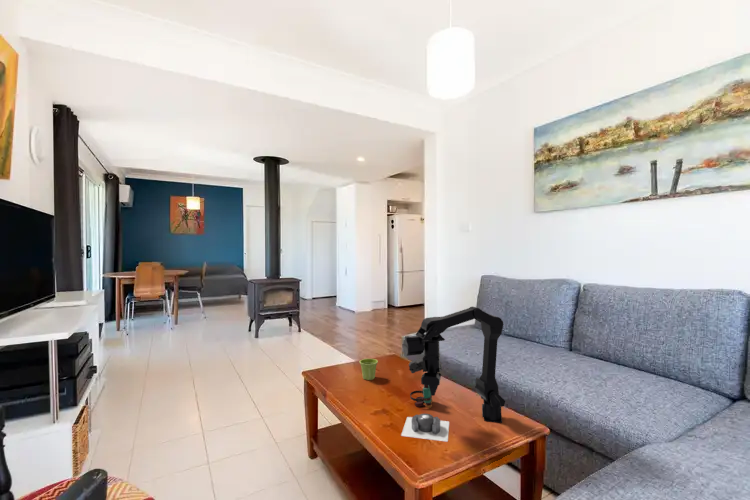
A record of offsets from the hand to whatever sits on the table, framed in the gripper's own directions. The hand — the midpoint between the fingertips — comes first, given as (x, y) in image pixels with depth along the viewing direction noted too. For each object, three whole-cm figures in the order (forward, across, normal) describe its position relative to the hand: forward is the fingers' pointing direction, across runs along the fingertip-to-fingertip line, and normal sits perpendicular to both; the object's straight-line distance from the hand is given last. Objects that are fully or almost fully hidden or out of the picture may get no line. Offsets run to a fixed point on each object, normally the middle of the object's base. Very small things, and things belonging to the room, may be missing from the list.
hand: (432, 395), depth 125 cm
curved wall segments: (+11, +3, -3) cm, 12 cm away
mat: (+12, +3, -3) cm, 12 cm away
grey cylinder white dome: (+11, +3, -3) cm, 12 cm away
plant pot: (+12, -42, -36) cm, 56 cm away
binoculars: (+12, -17, -6) cm, 22 cm away
